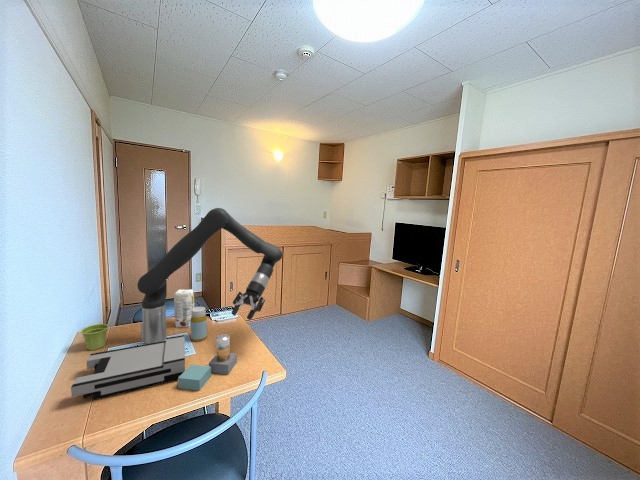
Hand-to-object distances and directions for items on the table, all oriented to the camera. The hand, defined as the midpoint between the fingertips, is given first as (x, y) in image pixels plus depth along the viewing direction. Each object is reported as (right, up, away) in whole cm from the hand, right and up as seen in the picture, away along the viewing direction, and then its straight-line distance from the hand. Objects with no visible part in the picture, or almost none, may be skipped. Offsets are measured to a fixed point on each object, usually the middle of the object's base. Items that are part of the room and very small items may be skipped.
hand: (240, 316), depth 114 cm
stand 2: (-5, -19, -7) cm, 20 cm away
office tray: (-35, -19, -13) cm, 42 cm away
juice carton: (-39, -13, +28) cm, 50 cm away
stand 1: (-12, -19, -16) cm, 28 cm away
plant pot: (-66, -15, +4) cm, 68 cm away
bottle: (-25, -15, +15) cm, 33 cm away
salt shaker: (-5, -15, -7) cm, 17 cm away
